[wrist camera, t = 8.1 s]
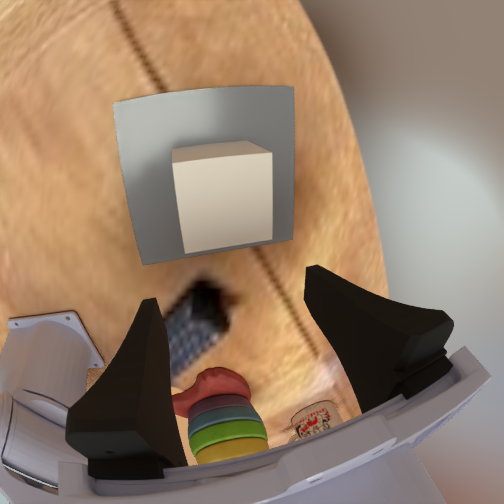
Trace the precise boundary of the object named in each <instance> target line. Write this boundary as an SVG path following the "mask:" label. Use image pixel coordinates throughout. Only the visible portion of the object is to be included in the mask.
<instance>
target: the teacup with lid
mask: <svg viewBox="0 0 504 504" xmlns="http://www.w3.org/2000/svg"><path fill="white" fill-rule="evenodd" d="M291 423H292V425H293V428H294V430H295V432H296V434H295V435H293V436H292V437H291V438H290V439H289V441H288V443H291V442H294V441H295V439H296V438H298V439H299V440H300V439H303V438H306V437H309V436H311V435H314V434H317V433H319V432H322V431H325V430H327V429H330V428H332V427H334V426H337V425H339V424H342V423H344V422H343V420H342V418H341V416H340V414H339V413H338V411H337V409H336V407H335V405H334V404H333V403H332V402H330V401H323V402H319V403H316V404H313V405H311V406H308V407H306V408H305V409H303V410H301V411H300V412H298V413H297V414H296V415H295V416H294V417H293V418H292V421H291Z"/></svg>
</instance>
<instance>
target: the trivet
mask: <svg viewBox="0 0 504 504" xmlns="http://www.w3.org/2000/svg"><path fill="white" fill-rule="evenodd" d="M113 110H114V120H115V129H116V137H117V144H118V151H119V158H120V164H121V170H122V176H123V181H124V187H125V192H126V197H127V202H128V207H129V211H130V216H131V220H132V225H133V229H134V233H135V237H136V241H137V245H138V249H139V253H140V257H141V261H142V264H143V265H148V264H154V263H160V262H166V261H171V260H177V259H183V258H189V257H194V256H200V255H206V254H212V253H217V252H223V251H229V250H235V249H241V248H247V247H252V246H258V245H264V244H270V243H276V242H282V241H288V240H293V213H294V162H295V116H294V87H289V86H238V87H218V88H205V89H195V90H186V91H177V92H170V93H163V94H157V95H151V96H145V97H140V98H135V99H130V100H125V101H120V102H116V103H113ZM235 141H249V142H251V143H253V144H255V145H257V146H259V147H261V148H264V149H266V150H268V151H270V152H272V184H273V227H272V240H266V241H260V242H254V243H247V244H241V245H235V246H229V247H223V248H217V249H211V250H205V251H199V252H193V253H187V254H185V250H184V244H183V238H182V232H181V226H180V219H179V213H178V206H177V198H176V191H175V183H174V175H173V167H172V149H174V148H181V147H189V146H196V145H205V144H214V143H224V142H235Z"/></svg>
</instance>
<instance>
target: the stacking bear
mask: <svg viewBox="0 0 504 504" xmlns="http://www.w3.org/2000/svg"><path fill="white" fill-rule="evenodd" d="M250 398H251V393H250V388H249V386H248V384H247V382H246V381H245V380H244V379H243V378H242V377H240V376H239V375H237V374H236V373H234V372H231V371H229V370H226V369H223V368H214V369H208V370H206V371H204V372H203V373H201V374H199V375H198V377H197V380H196V383H195V385H194V386H193V387H192V388H190V389H189V390H187V391H185V392H182V393H178V394H174V395H172V401H173V406H174V411H175V414H176V415H179V416H182V417H185V418H188V424H189V425H188V439H189V445H190V448H191V451H192V453H193V455H194V457H195V458H196V460H197V463H198V465H199V464H206V463H211V462H217V461H222V460H227V459H232V458H237V457H241V456H245V455H249V454H253V453H257V452H261V451H265V450H268V449H269V447H268V443H267V441H268V438H267V433H266V429H265V427H264V424H263V421H262V420H261V418H260V416H259V415H258V413H257V412H256V411H255V409H254V408H253V406H252V405H251V403H250Z"/></svg>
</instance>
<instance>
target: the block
mask: <svg viewBox="0 0 504 504" xmlns="http://www.w3.org/2000/svg"><path fill="white" fill-rule="evenodd" d="M172 167H173V175H174V183H175V191H176V198H177V206H178V213H179V219H180V226H181V232H182V238H183V244H184V250H185V254H187V253H193V252H199V251H205V250H211V249H217V248H223V247H229V246H235V245H241V244H247V243H254V242H260V241H266V240H272V227H273V184H272V152H270V151H268V150H266V149H264V148H261V147H259V146H257V145H255V144H253V143H251V142H249V141H235V142H224V143H214V144H205V145H196V146H189V147H181V148H174V149H172Z"/></svg>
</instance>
